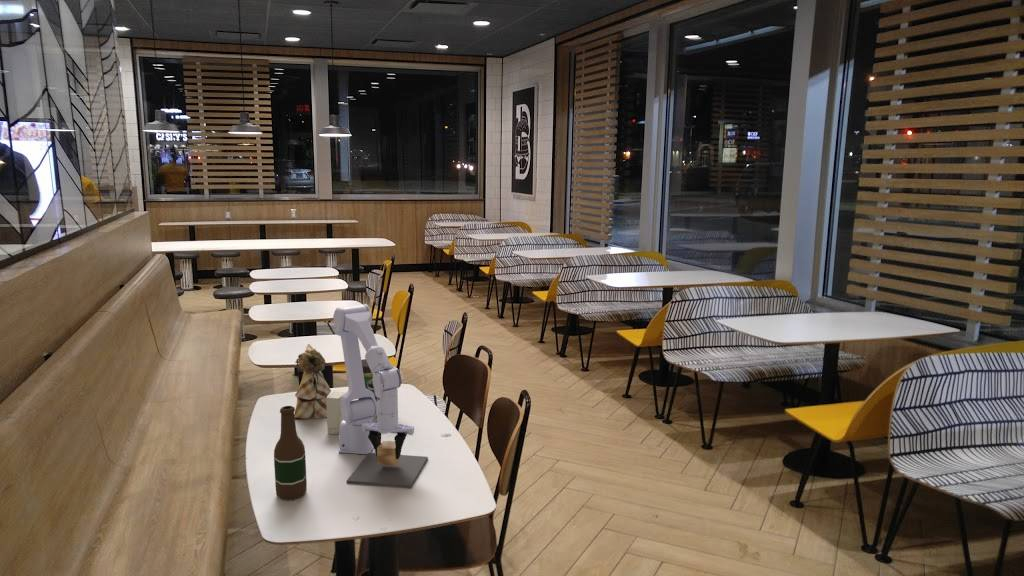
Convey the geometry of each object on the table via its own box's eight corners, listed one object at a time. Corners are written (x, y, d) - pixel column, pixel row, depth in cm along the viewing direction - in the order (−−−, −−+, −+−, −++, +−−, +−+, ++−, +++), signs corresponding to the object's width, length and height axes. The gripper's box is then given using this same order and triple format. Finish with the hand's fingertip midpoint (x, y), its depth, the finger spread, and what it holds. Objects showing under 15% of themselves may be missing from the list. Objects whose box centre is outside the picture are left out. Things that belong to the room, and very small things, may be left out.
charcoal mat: (346, 483, 185) (346, 480, 185) (368, 455, 203) (368, 452, 203) (410, 488, 183) (410, 485, 183) (427, 459, 201) (427, 456, 200)
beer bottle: (274, 489, 181) (270, 404, 177) (305, 484, 184) (301, 400, 180) (277, 503, 174) (272, 414, 170) (308, 498, 177) (304, 410, 173)
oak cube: (377, 464, 190) (377, 447, 190) (383, 457, 195) (382, 440, 194) (394, 465, 190) (394, 448, 189) (400, 458, 195) (399, 441, 194)
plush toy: (348, 406, 239) (330, 338, 235) (328, 421, 226) (309, 350, 222) (313, 410, 243) (295, 344, 239) (292, 426, 230) (272, 356, 226)
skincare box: (339, 435, 217) (338, 398, 215) (326, 433, 218) (325, 397, 216) (348, 427, 223) (347, 392, 221) (335, 426, 224) (334, 391, 222)
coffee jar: (382, 404, 244) (380, 354, 240) (388, 412, 237) (387, 360, 234) (355, 408, 240) (353, 358, 236) (361, 416, 233) (359, 364, 229)
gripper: (357, 414, 187) (358, 461, 189) (408, 418, 185) (409, 464, 187) (366, 405, 193) (367, 450, 196) (415, 408, 192) (416, 453, 194)
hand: (388, 456), depth 192 cm, fingers closed on oak cube, 5 cm apart
